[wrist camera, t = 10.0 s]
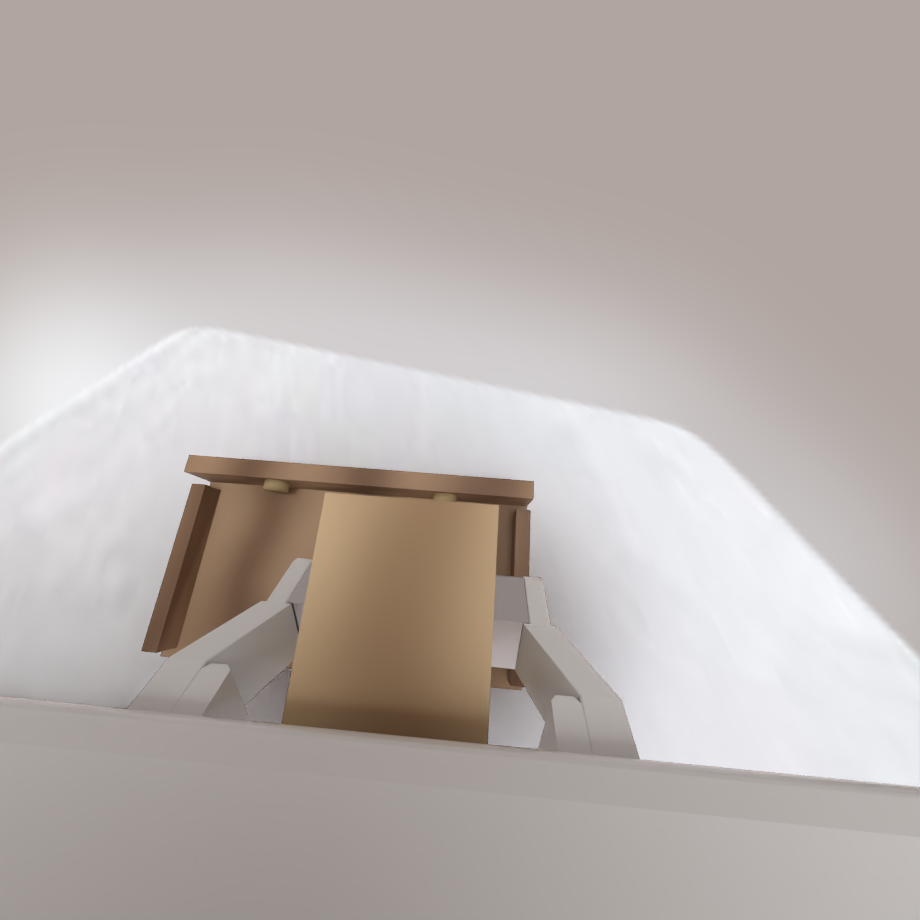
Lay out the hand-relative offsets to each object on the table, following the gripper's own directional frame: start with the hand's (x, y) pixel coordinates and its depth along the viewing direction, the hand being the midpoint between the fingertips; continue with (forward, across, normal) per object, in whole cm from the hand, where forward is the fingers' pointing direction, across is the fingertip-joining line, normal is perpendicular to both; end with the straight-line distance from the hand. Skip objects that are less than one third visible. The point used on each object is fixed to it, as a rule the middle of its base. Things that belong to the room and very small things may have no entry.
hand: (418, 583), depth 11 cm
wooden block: (+3, 0, +4) cm, 5 cm away
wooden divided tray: (+10, +5, +10) cm, 15 cm away
